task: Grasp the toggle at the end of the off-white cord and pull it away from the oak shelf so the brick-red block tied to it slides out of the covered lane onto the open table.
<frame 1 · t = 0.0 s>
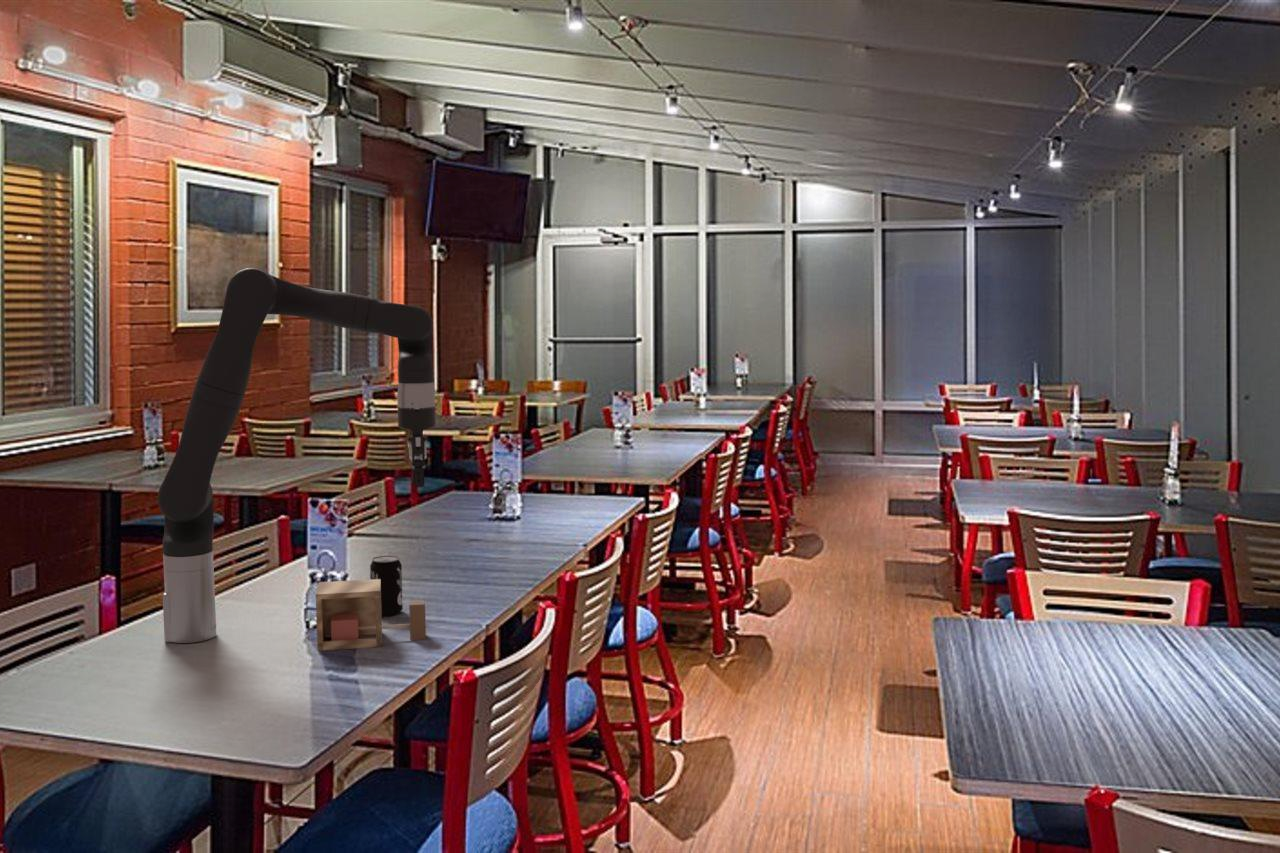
hand: (418, 483, 238), 29 cm above the table, fingers open, 8 cm apart
corded block: (345, 641, 228), on the table
oak shelf: (350, 641, 228), on the table
beverage can: (387, 614, 249), on the table
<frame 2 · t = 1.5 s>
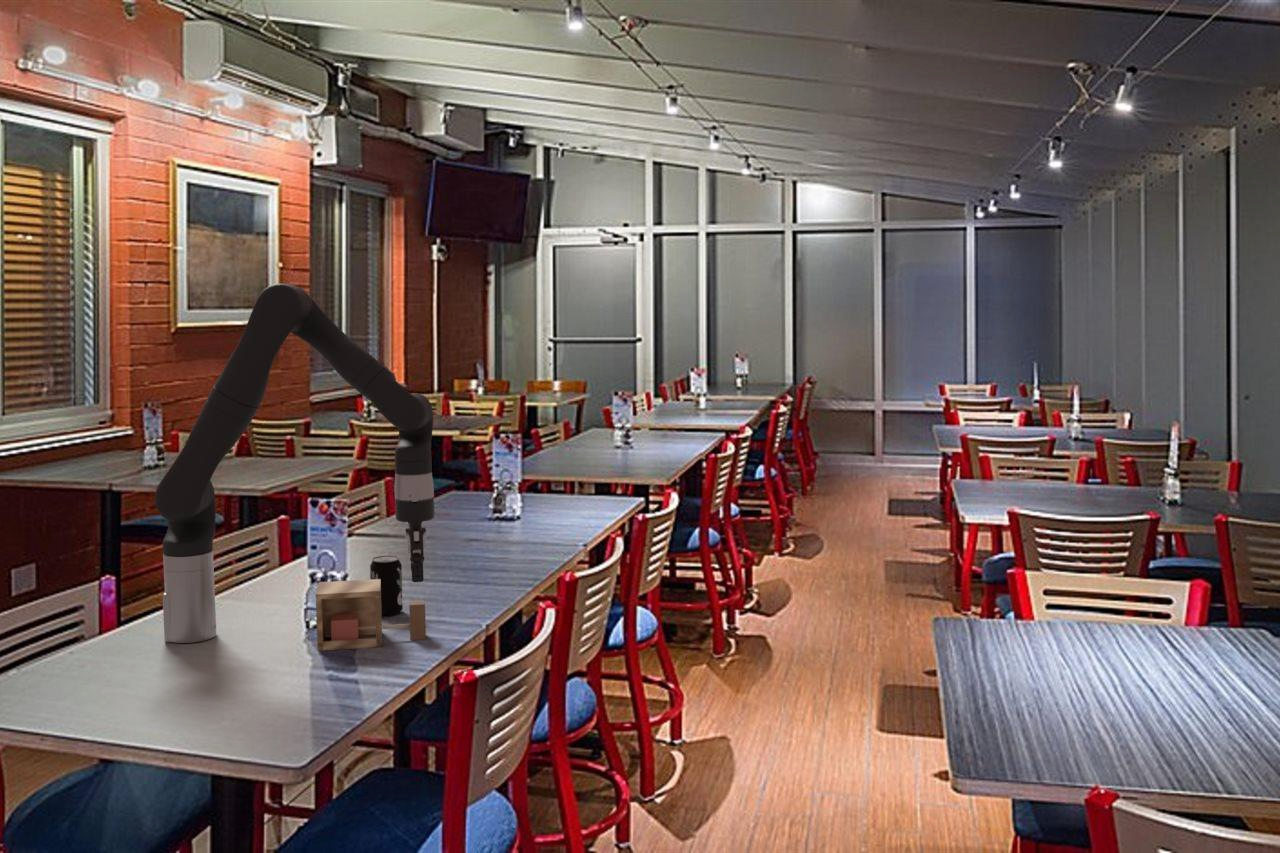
hand: (417, 576, 230), 12 cm above the table, fingers open, 8 cm apart
nothing on the table moved.
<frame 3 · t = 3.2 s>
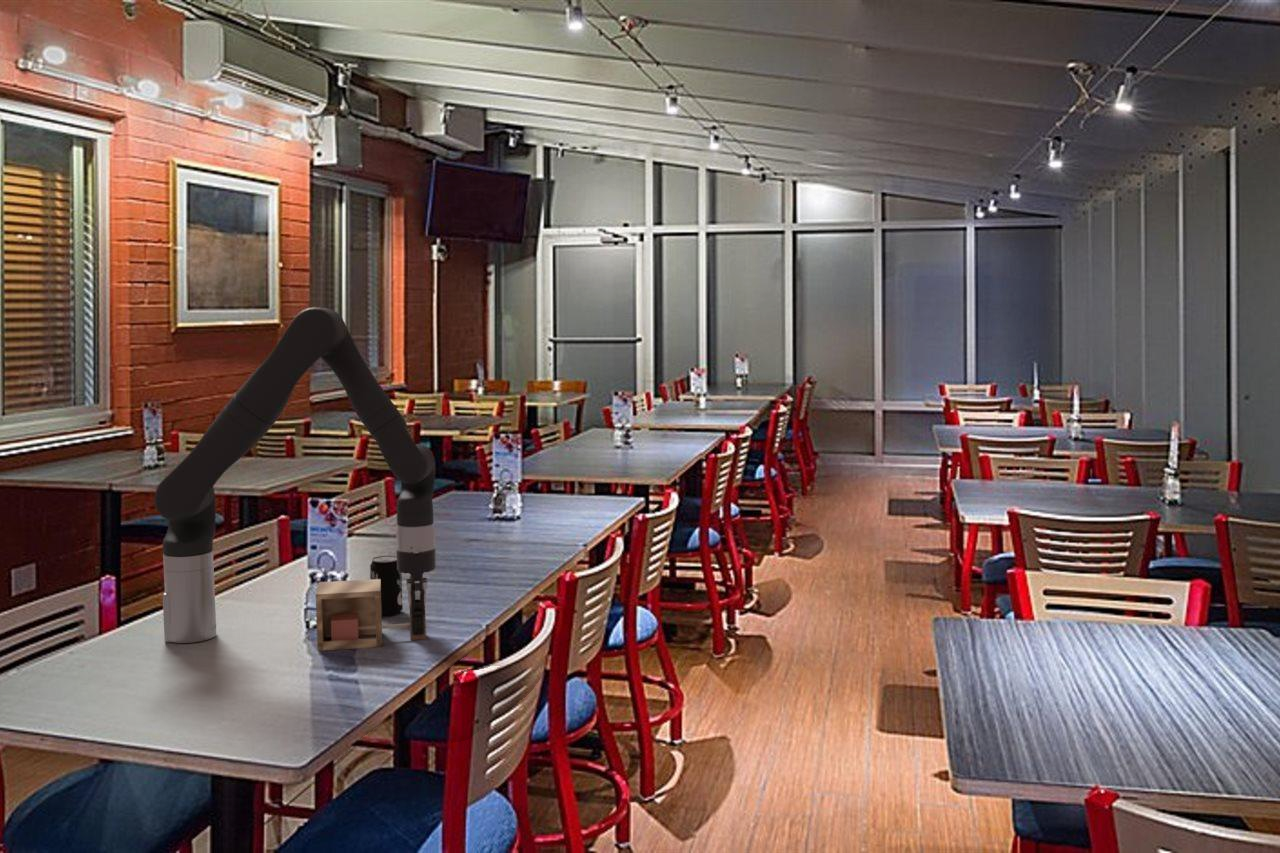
hand: (417, 631, 231), 1 cm above the table, fingers closed on corded block, 3 cm apart
corded block: (345, 641, 228), on the table, touching gripper
everything else where it was.
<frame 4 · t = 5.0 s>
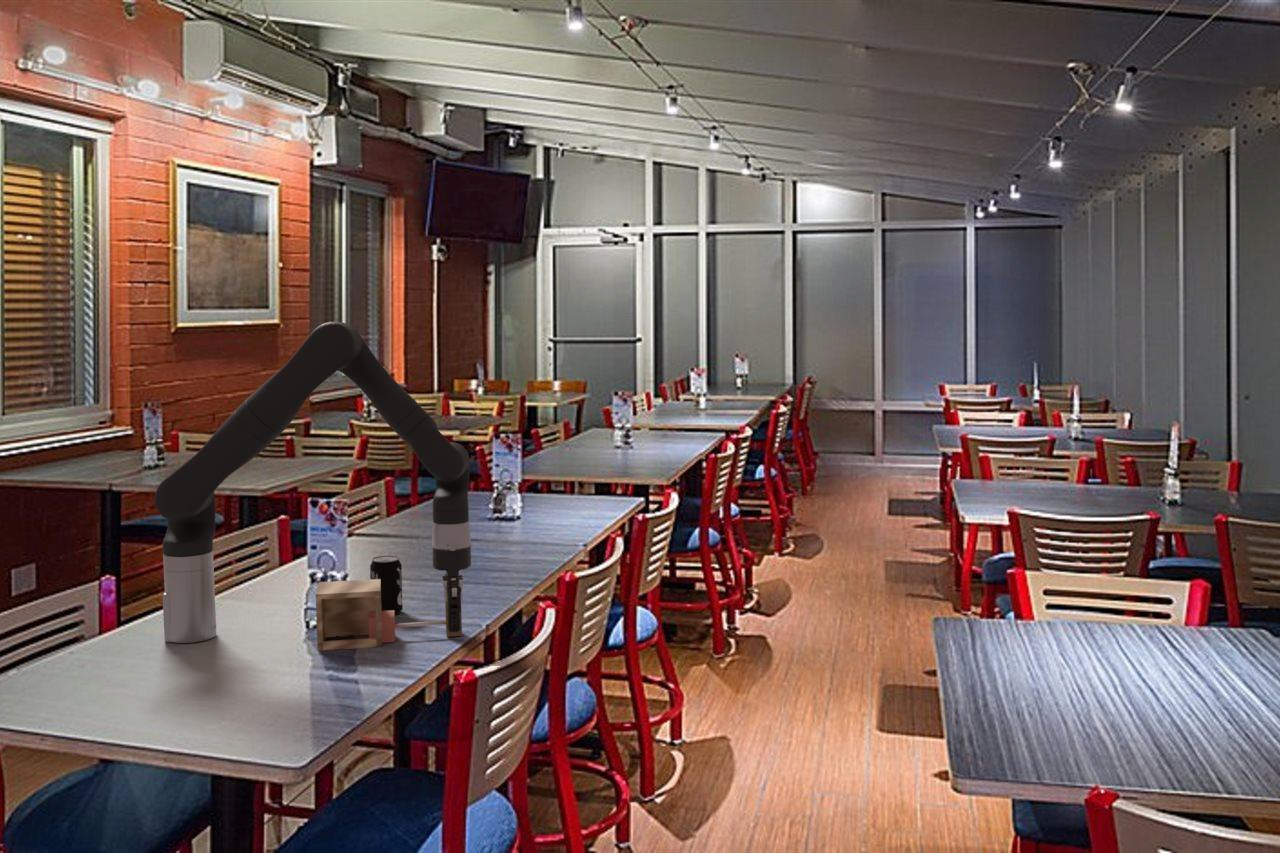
hand: (453, 628, 232), 1 cm above the table, fingers closed on corded block, 3 cm apart
corded block: (382, 638, 230), on the table, touching gripper
everything else where it was.
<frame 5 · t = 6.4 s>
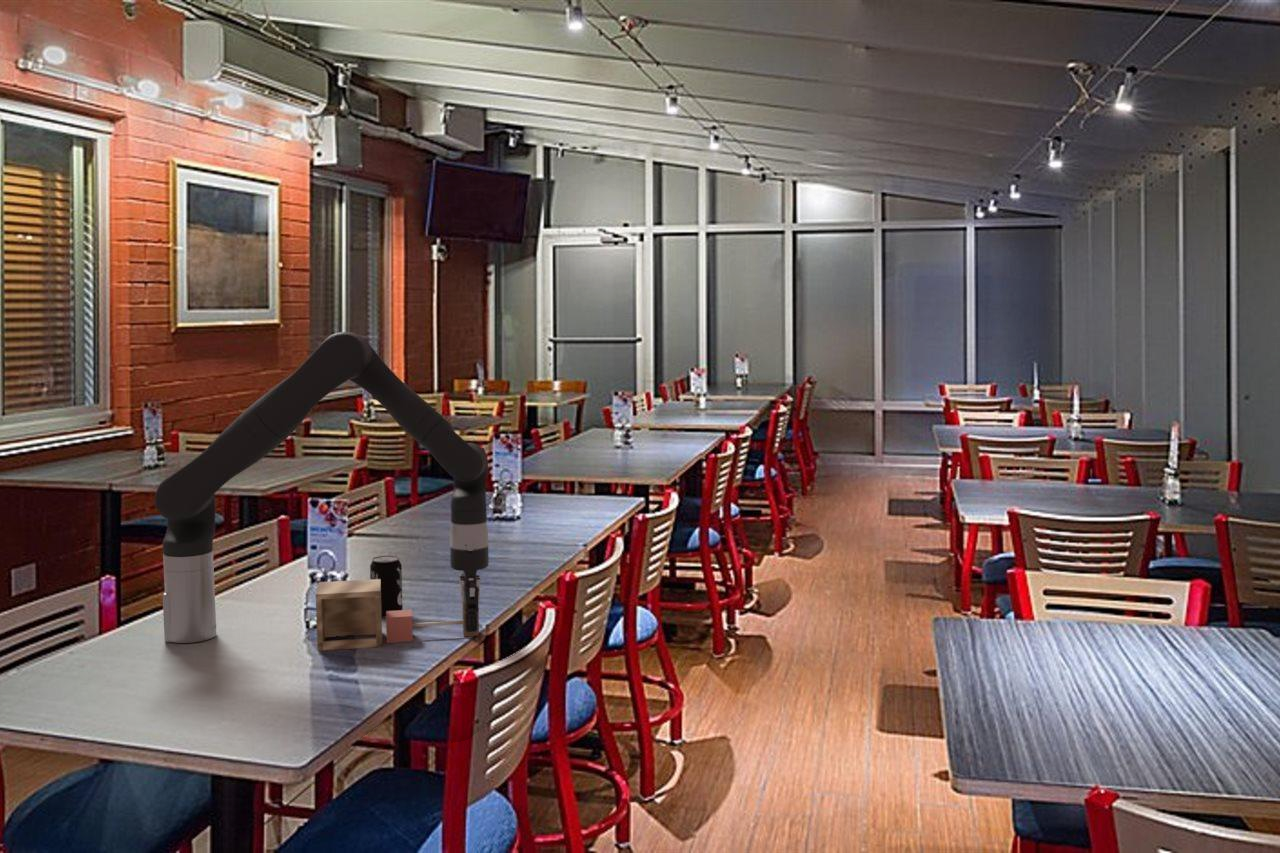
hand: (470, 628, 233), 1 cm above the table, fingers closed on corded block, 3 cm apart
corded block: (399, 638, 230), on the table, touching gripper
everything else where it was.
when the fingers open (1 cm above the table, at t = 7.1 s): corded block stays where it is, on the table.
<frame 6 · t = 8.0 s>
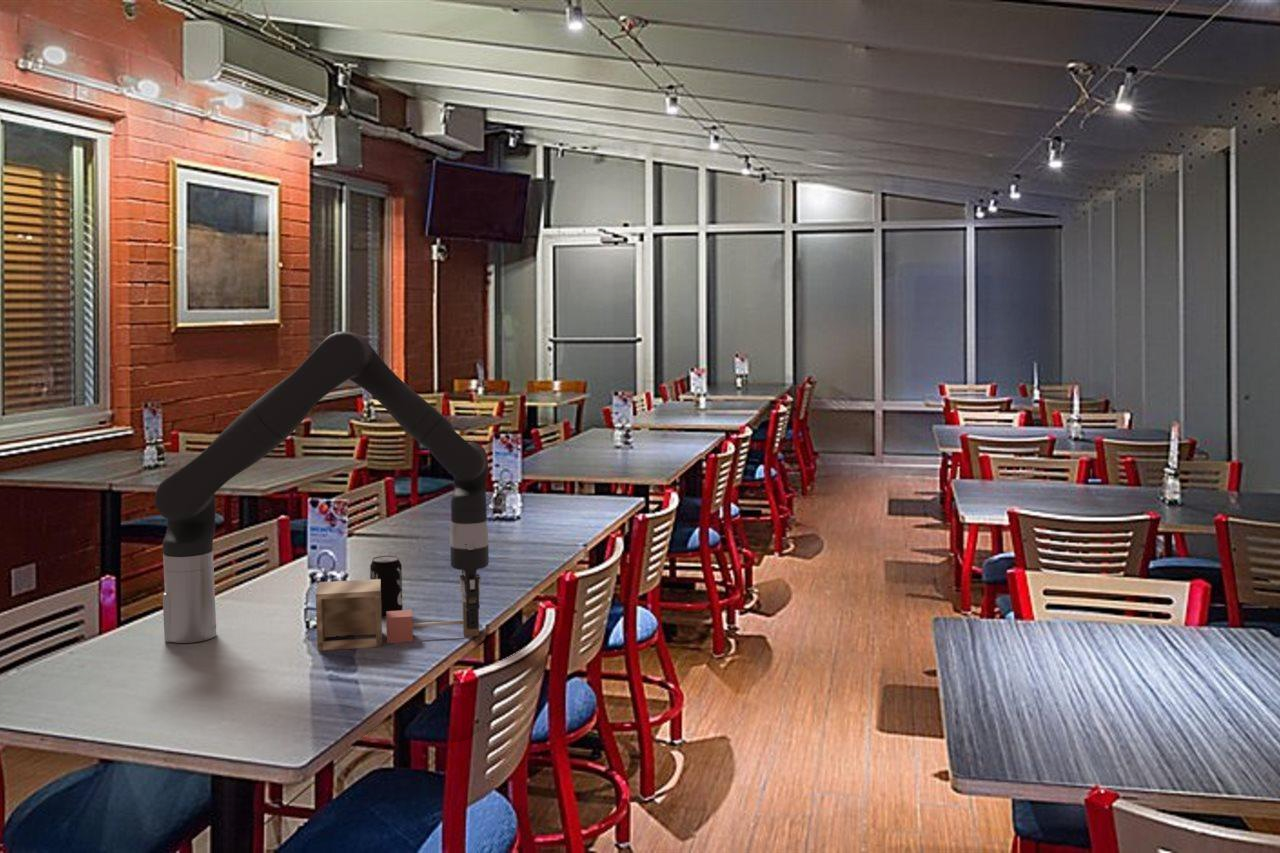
hand: (470, 622, 233), 2 cm above the table, fingers open, 8 cm apart
corded block: (399, 638, 230), on the table
everything else where it was.
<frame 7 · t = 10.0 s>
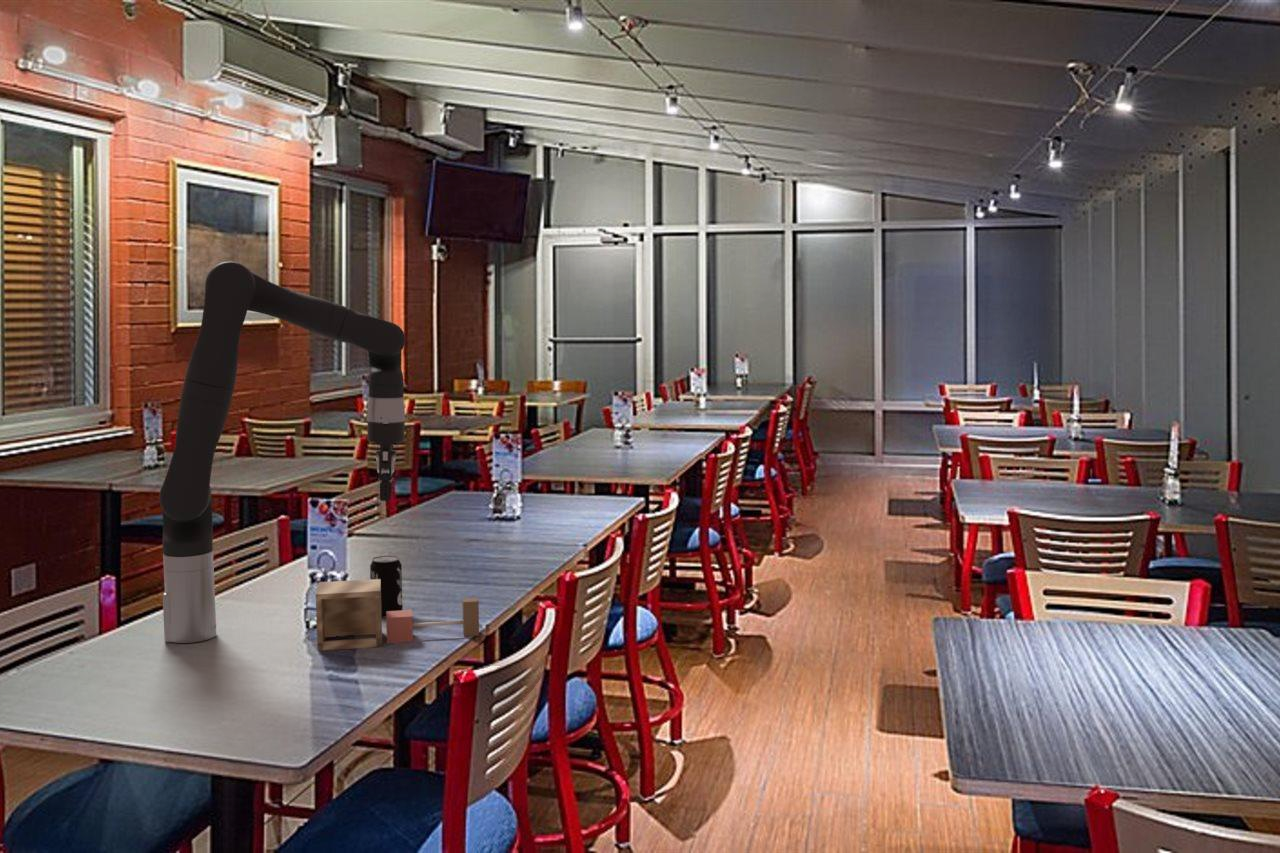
hand: (385, 497, 241), 26 cm above the table, fingers open, 8 cm apart
nothing on the table moved.
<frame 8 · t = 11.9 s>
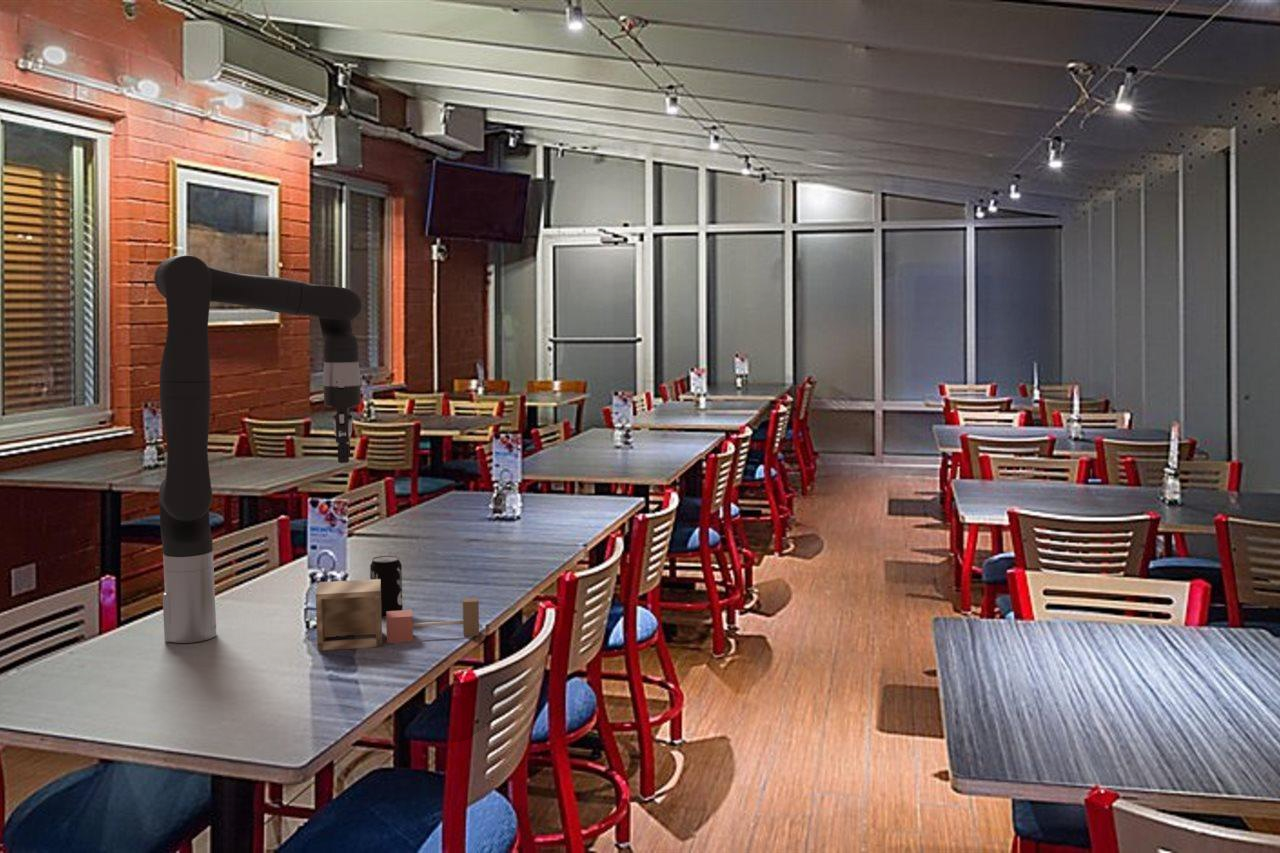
hand: (344, 459, 246), 33 cm above the table, fingers open, 8 cm apart
nothing on the table moved.
at the end: corded block inside the target area (9.5 cm from its centre), on the table; corded block moved 10.5 cm from its start; the gripper is holding nothing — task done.
